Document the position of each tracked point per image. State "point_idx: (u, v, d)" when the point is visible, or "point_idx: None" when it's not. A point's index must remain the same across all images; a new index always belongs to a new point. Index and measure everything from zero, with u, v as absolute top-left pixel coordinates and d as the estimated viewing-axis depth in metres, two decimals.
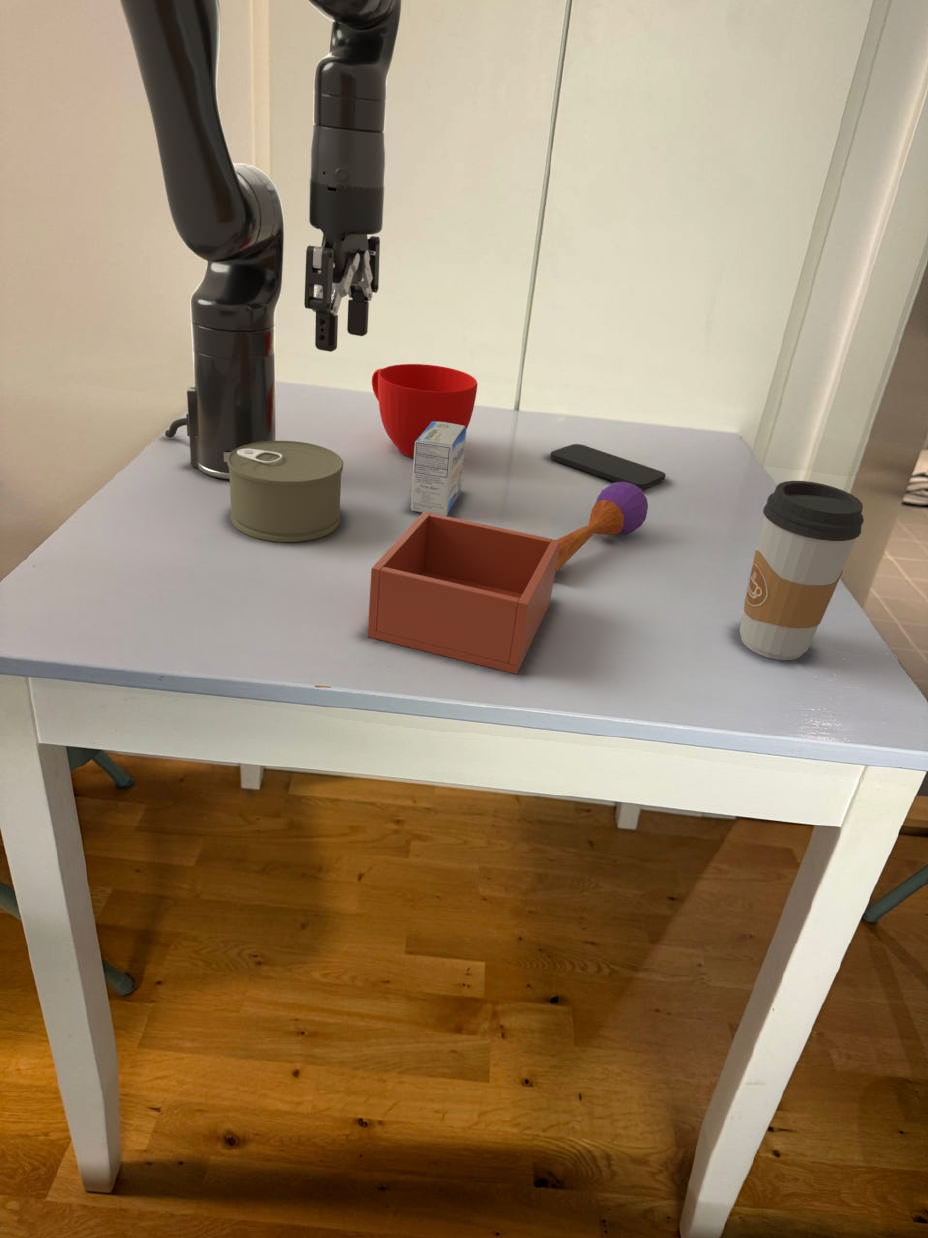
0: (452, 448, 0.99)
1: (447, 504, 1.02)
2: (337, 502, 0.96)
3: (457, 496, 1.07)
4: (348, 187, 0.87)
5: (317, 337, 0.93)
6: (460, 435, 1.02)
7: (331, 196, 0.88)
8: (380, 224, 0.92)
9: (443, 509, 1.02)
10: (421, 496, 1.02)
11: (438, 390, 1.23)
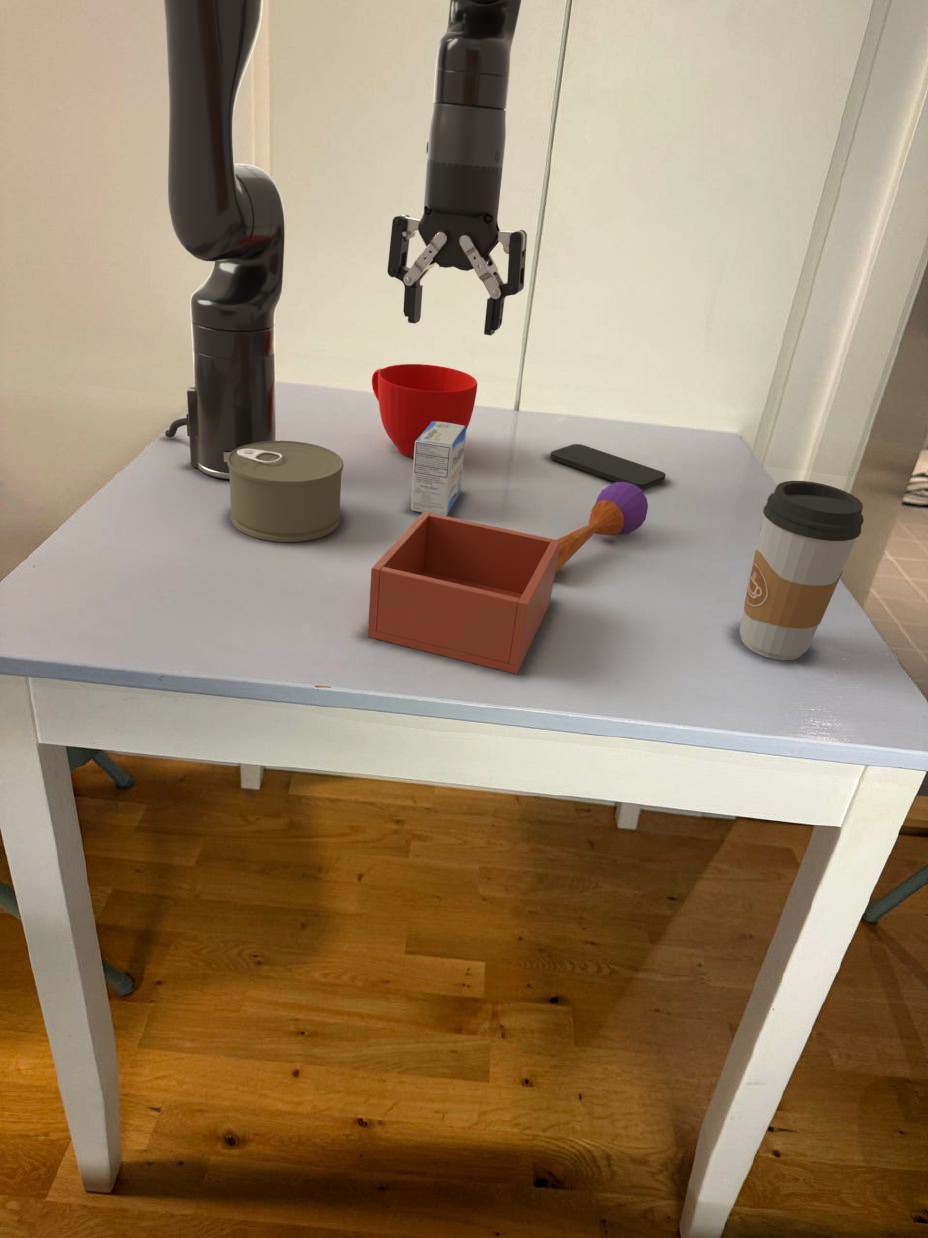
0: (452, 448, 0.99)
1: (447, 504, 1.02)
2: (337, 502, 0.96)
3: (457, 496, 1.07)
4: (427, 160, 0.88)
5: None
6: (460, 435, 1.02)
7: None
8: (451, 203, 0.87)
9: (443, 509, 1.02)
10: (421, 496, 1.02)
11: (438, 390, 1.23)
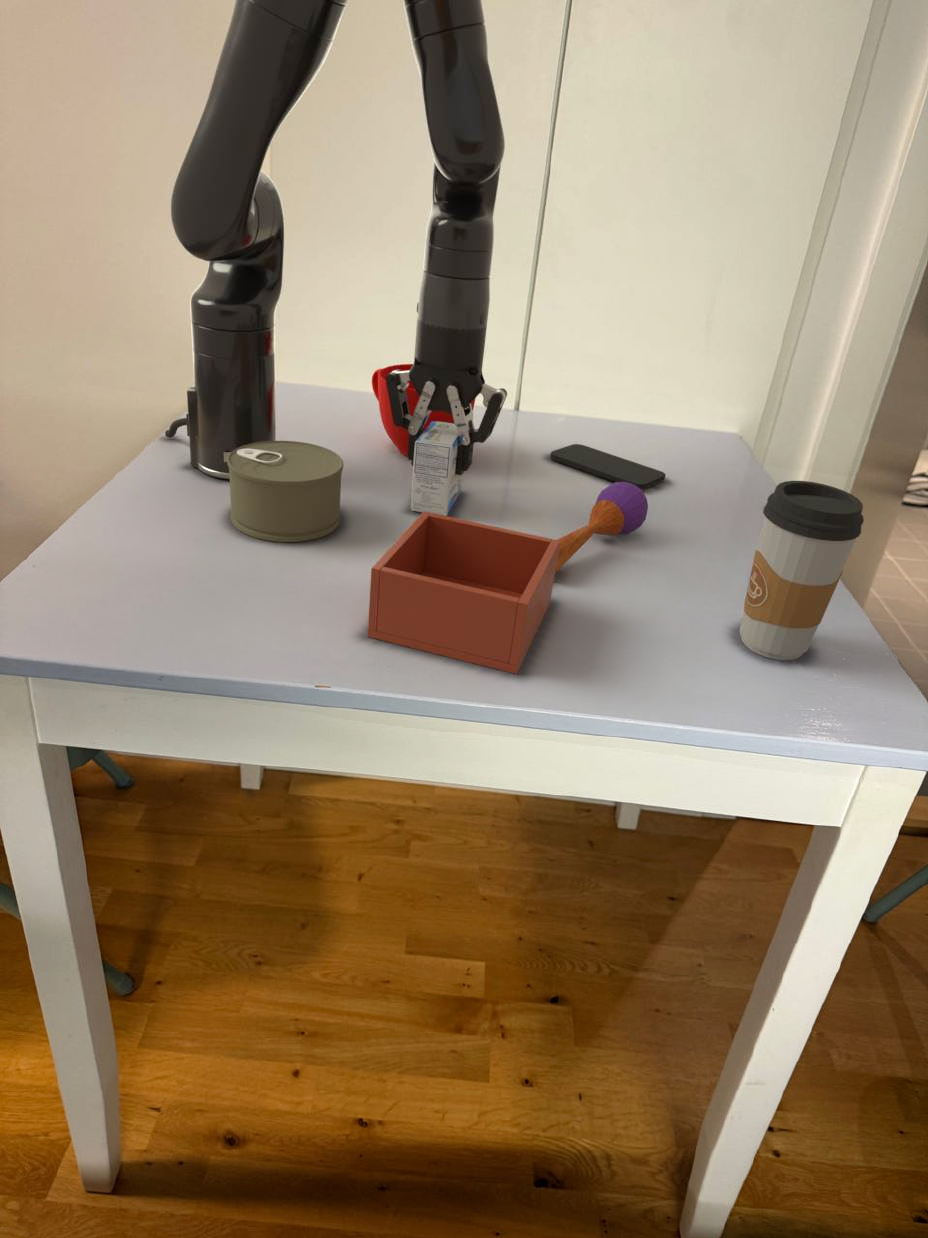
0: (452, 448, 0.99)
1: (447, 504, 1.02)
2: (337, 502, 0.96)
3: (457, 496, 1.07)
4: (417, 319, 0.95)
5: None
6: None
7: None
8: (439, 360, 0.94)
9: (443, 509, 1.02)
10: (421, 496, 1.02)
11: None
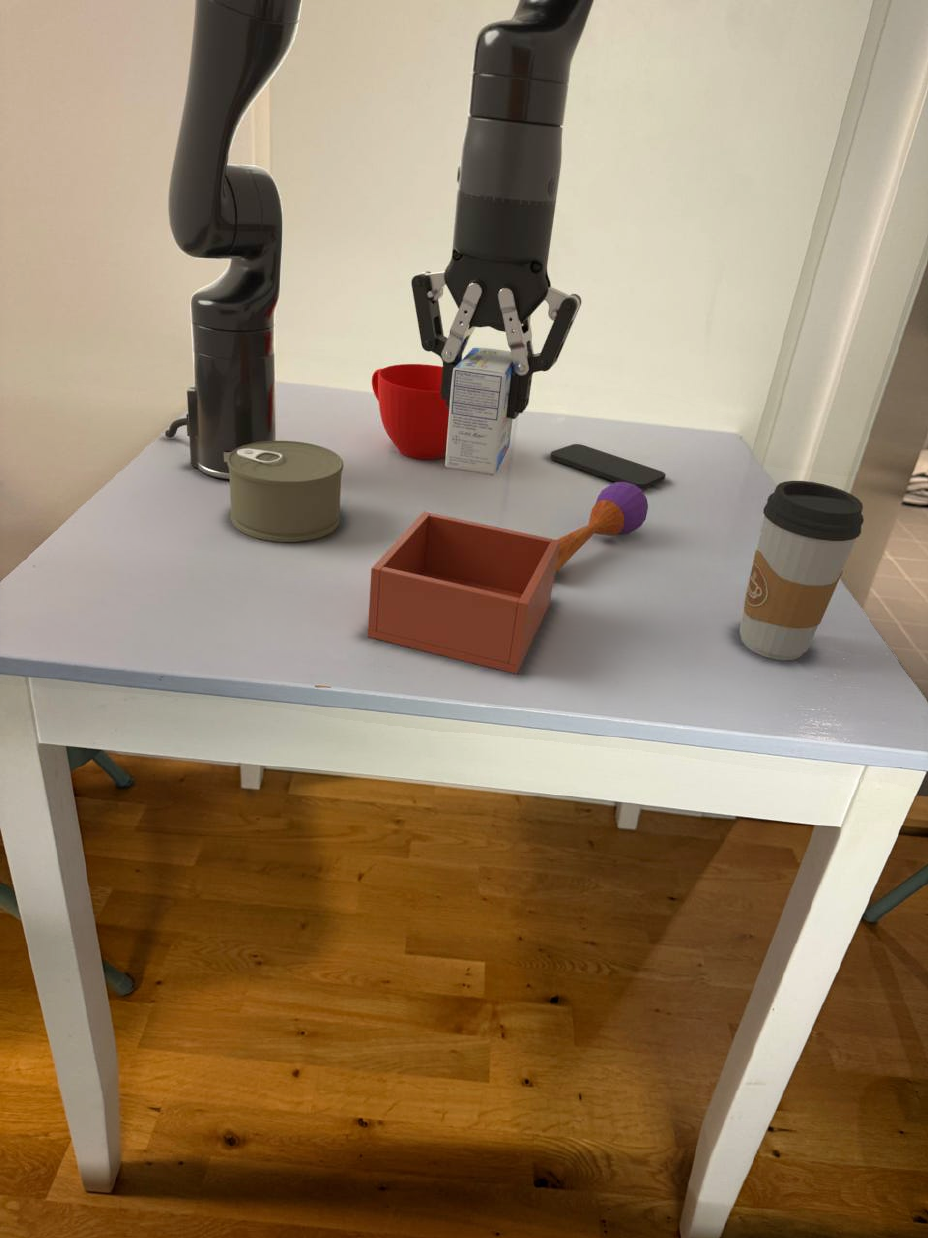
0: (505, 378, 0.71)
1: (496, 458, 0.74)
2: (337, 502, 0.96)
3: (506, 450, 0.79)
4: (457, 191, 0.67)
5: None
6: None
7: None
8: (490, 248, 0.66)
9: (490, 465, 0.74)
10: (460, 447, 0.74)
11: (438, 390, 1.23)
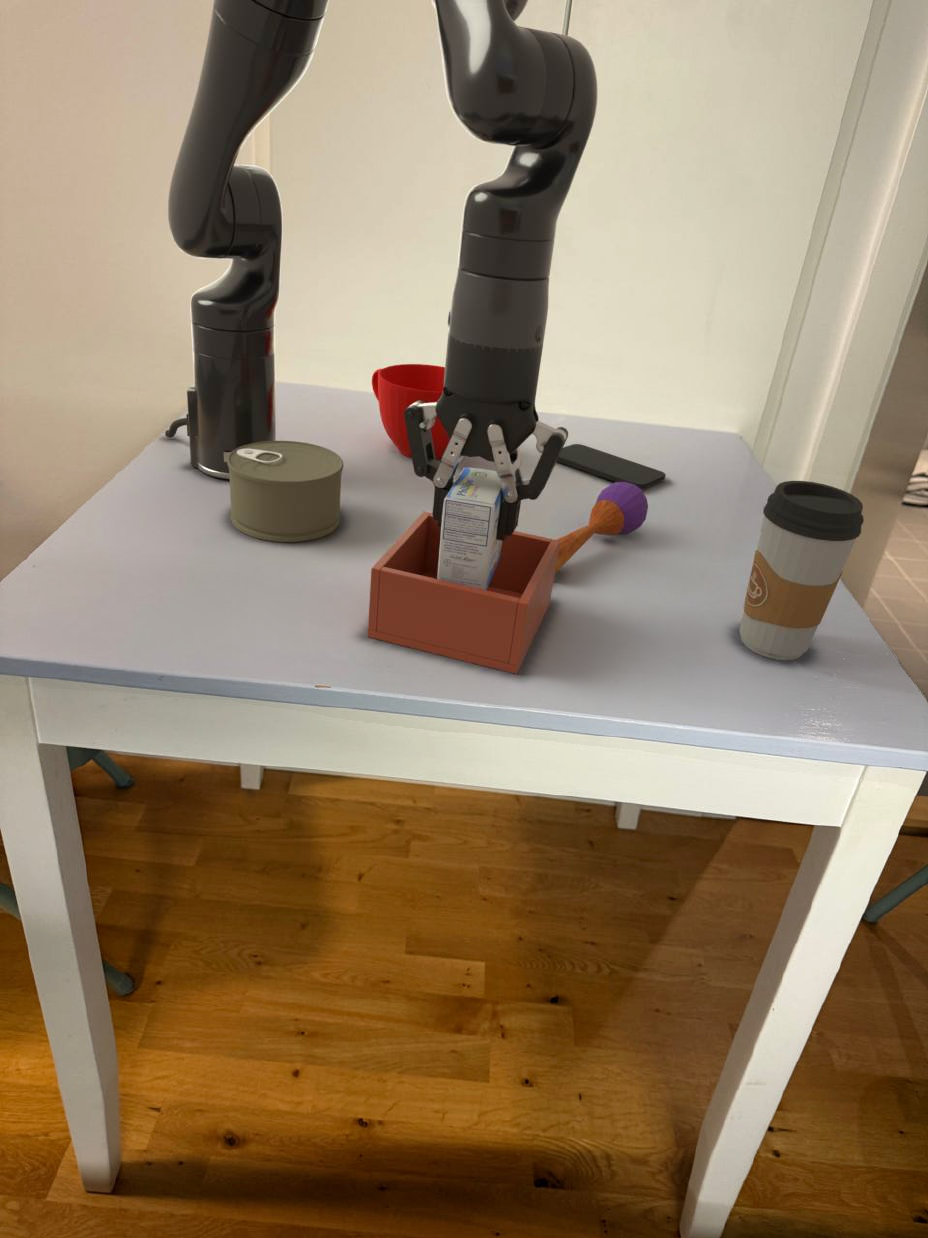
0: (494, 508, 0.73)
1: (486, 580, 0.76)
2: (337, 502, 0.96)
3: (496, 565, 0.82)
4: (448, 334, 0.69)
5: None
6: None
7: None
8: (479, 391, 0.69)
9: (480, 586, 0.76)
10: (451, 569, 0.76)
11: (438, 390, 1.23)
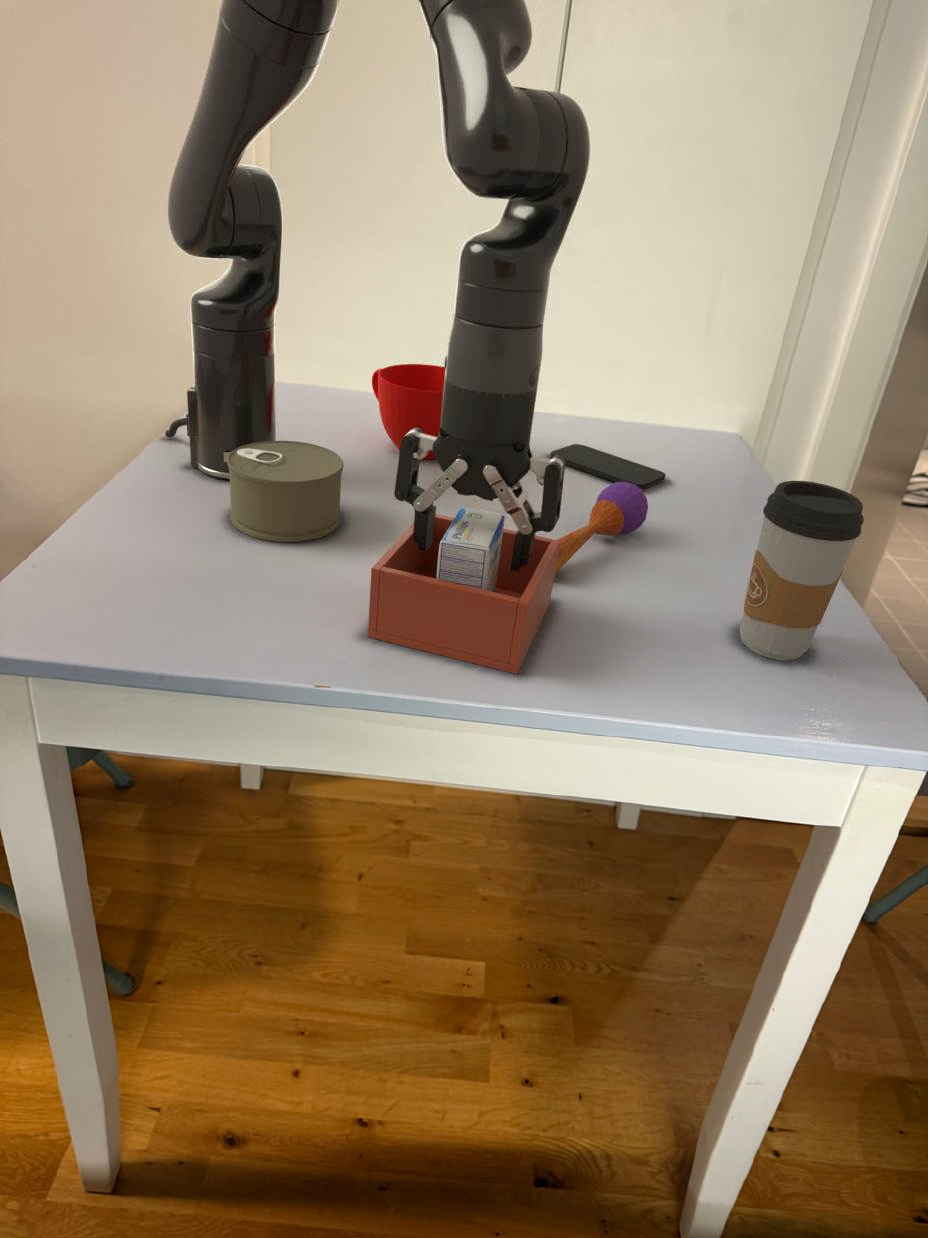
0: (489, 551, 0.75)
1: None
2: (337, 502, 0.96)
3: None
4: (444, 378, 0.71)
5: None
6: (498, 530, 0.78)
7: None
8: (475, 434, 0.70)
9: None
10: None
11: (438, 390, 1.23)
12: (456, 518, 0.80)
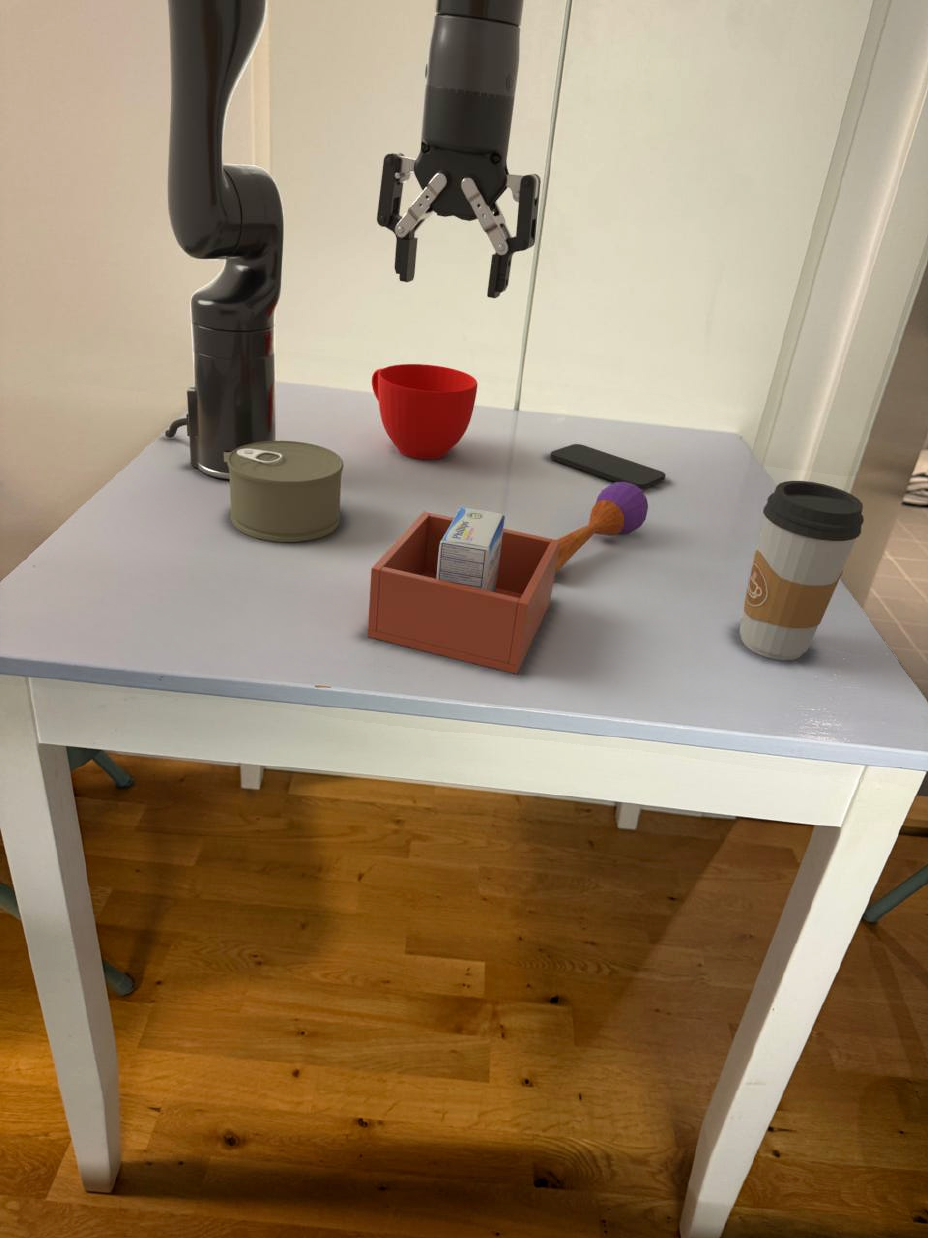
0: (489, 551, 0.75)
1: None
2: (337, 502, 0.96)
3: None
4: (425, 86, 0.74)
5: None
6: (498, 529, 0.78)
7: None
8: (453, 137, 0.73)
9: None
10: None
11: (438, 390, 1.23)
12: (456, 518, 0.80)
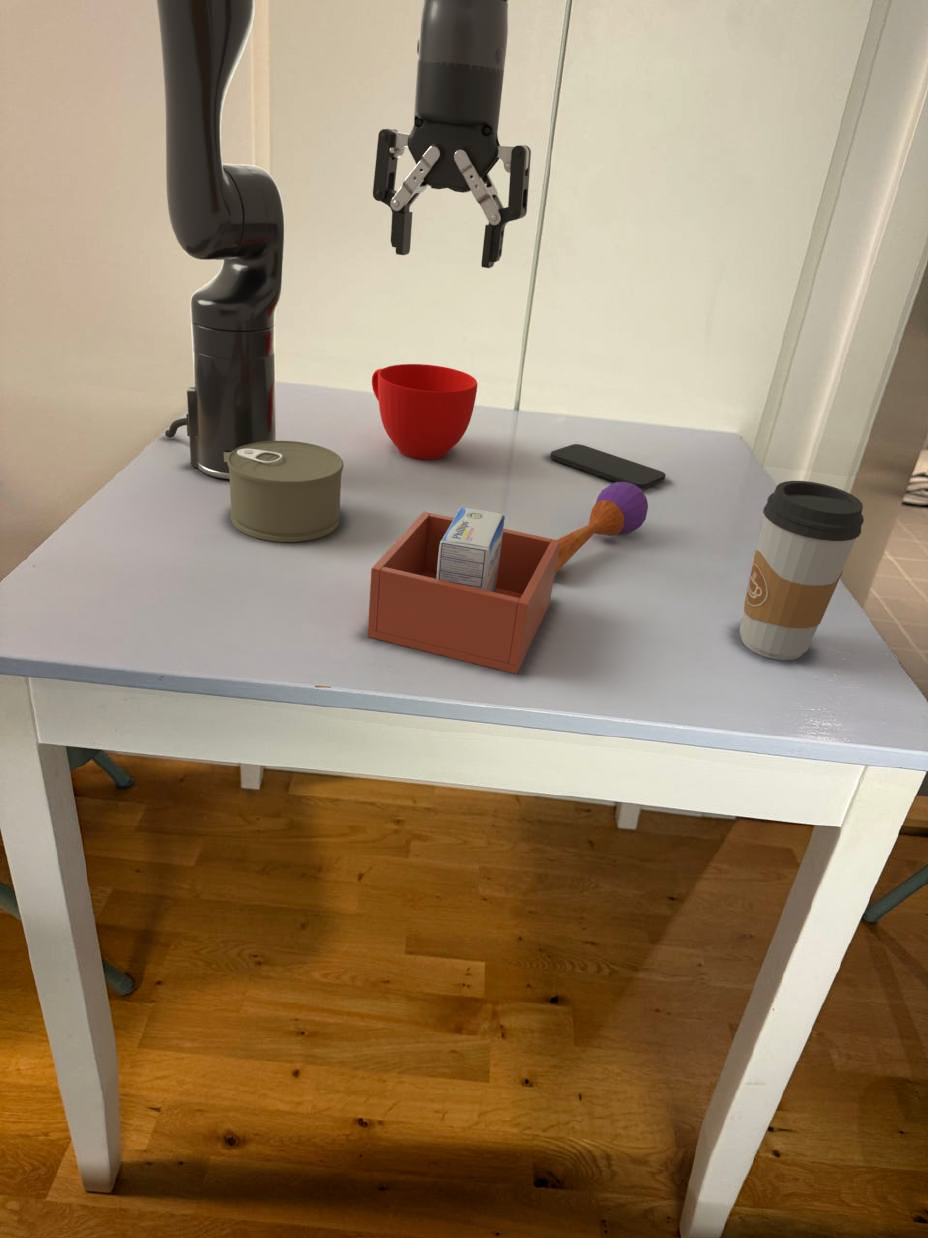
0: (489, 551, 0.75)
1: None
2: (337, 502, 0.96)
3: None
4: None
5: None
6: (498, 529, 0.78)
7: None
8: (445, 110, 0.76)
9: None
10: None
11: (438, 390, 1.23)
12: (456, 518, 0.80)
